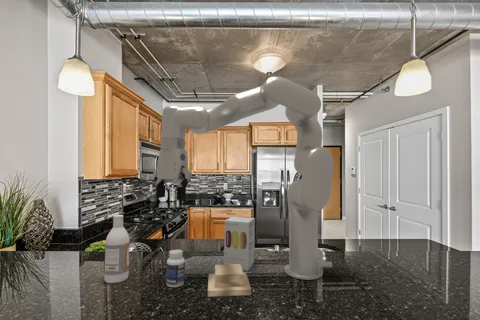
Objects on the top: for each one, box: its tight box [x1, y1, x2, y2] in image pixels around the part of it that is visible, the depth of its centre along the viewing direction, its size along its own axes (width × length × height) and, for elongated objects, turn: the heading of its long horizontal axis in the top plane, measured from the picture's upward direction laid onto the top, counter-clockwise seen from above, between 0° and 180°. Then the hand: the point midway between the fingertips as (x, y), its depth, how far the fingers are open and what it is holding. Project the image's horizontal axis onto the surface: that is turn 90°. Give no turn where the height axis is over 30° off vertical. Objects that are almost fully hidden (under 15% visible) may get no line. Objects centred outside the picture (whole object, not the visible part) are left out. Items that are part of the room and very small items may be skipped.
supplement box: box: [223, 216, 256, 272], centre depth 94 cm, size 10×9×17 cm
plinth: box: [207, 263, 252, 298], centre depth 76 cm, size 12×12×5 cm
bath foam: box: [103, 214, 131, 284], centre depth 81 cm, size 7×7×20 cm
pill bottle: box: [165, 249, 186, 288], centre depth 77 cm, size 5×5×10 cm
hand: (170, 198), depth 81 cm, fingers open, 9 cm apart
